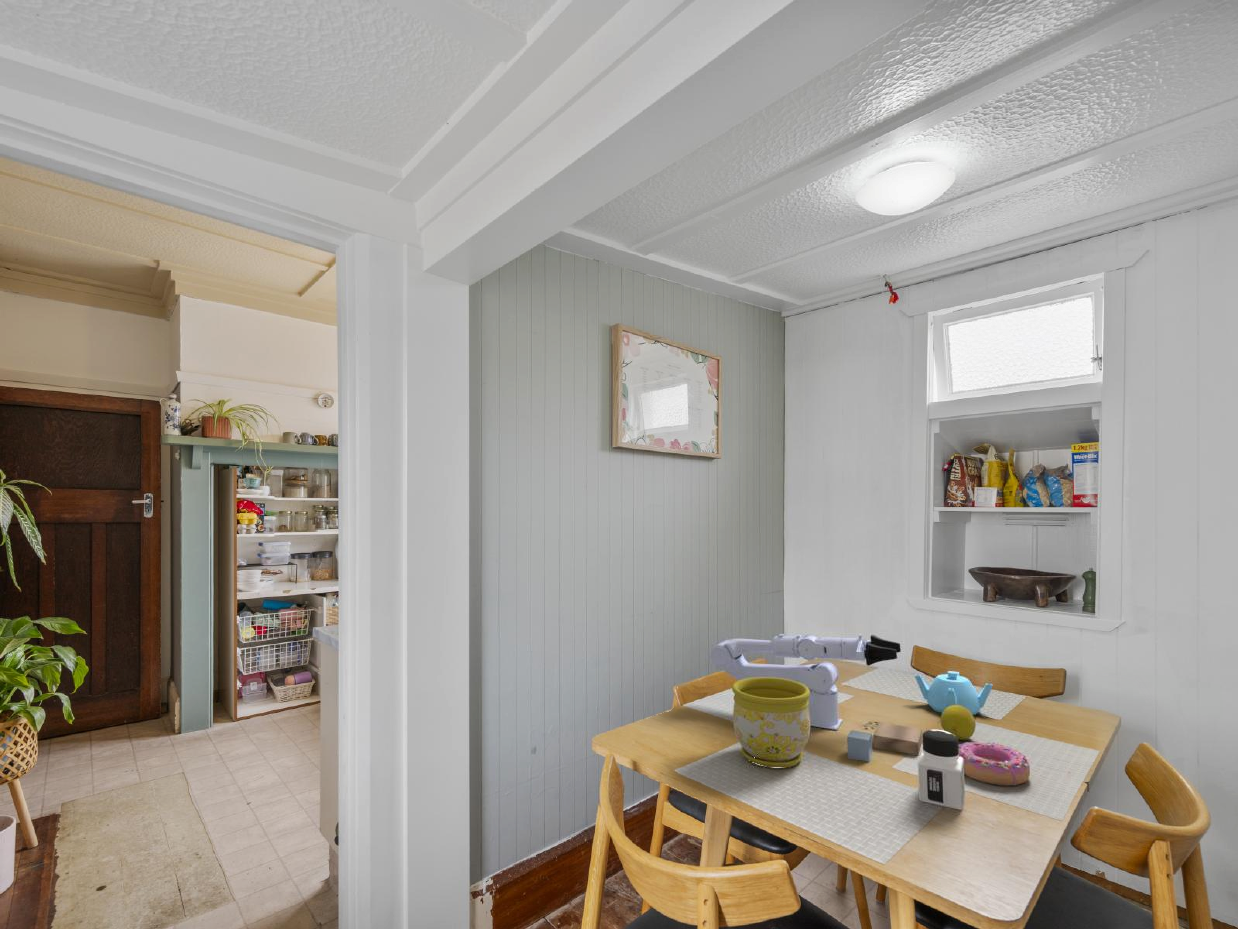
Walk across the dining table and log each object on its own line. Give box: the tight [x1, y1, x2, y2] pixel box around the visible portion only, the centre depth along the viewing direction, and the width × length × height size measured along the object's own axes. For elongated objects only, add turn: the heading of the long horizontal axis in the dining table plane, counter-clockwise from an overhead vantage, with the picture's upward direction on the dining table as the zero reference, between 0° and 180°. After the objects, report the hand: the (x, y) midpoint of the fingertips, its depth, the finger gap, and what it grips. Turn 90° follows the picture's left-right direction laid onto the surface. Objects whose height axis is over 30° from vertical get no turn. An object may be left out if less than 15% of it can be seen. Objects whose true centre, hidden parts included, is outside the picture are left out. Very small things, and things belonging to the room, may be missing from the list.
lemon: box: [940, 705, 976, 741], centre depth 160 cm, size 11×8×8 cm
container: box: [917, 729, 966, 811], centre depth 128 cm, size 8×8×13 cm
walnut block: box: [872, 721, 923, 756], centre depth 156 cm, size 10×10×3 cm
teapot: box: [914, 670, 993, 716], centre depth 181 cm, size 15×15×11 cm
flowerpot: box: [731, 677, 811, 768], centre depth 149 cm, size 18×18×16 cm
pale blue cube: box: [846, 729, 874, 763], centre depth 149 cm, size 5×5×5 cm
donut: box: [958, 741, 1031, 787], centre depth 139 cm, size 14×14×5 cm
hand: (898, 651), depth 162 cm, fingers open, 7 cm apart
